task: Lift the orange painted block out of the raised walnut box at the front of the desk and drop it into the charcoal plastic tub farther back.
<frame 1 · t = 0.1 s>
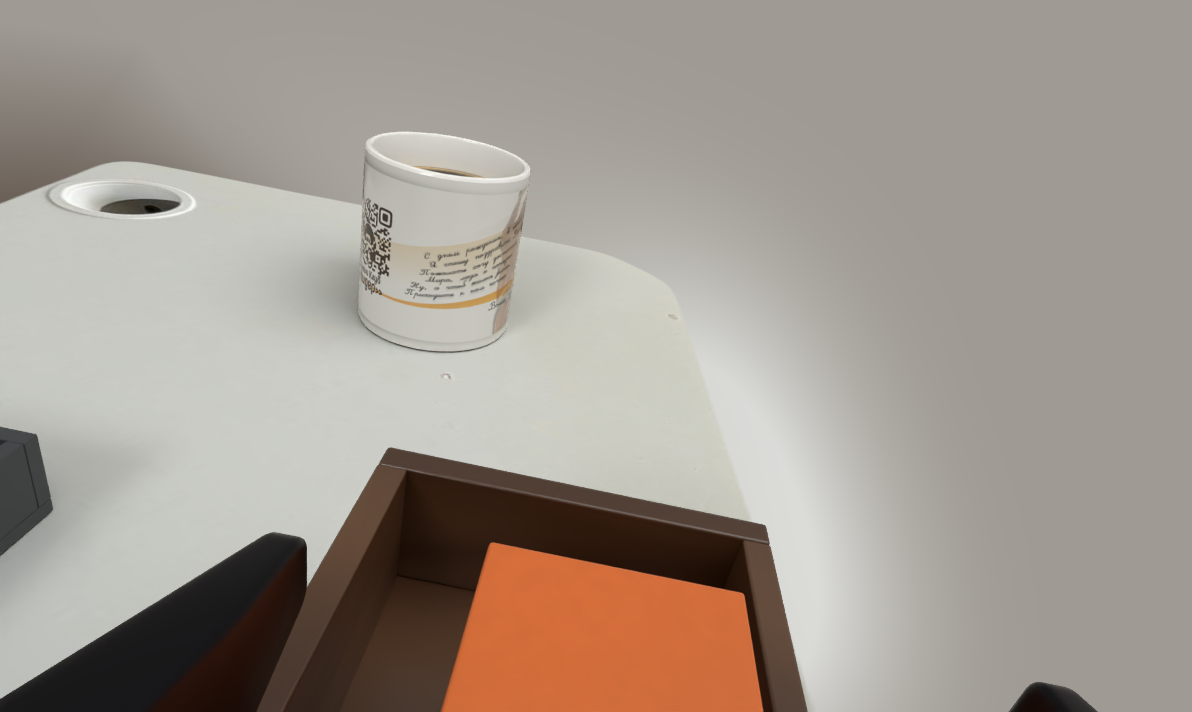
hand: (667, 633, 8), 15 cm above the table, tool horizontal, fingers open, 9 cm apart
mug: (430, 311, 47), on the table
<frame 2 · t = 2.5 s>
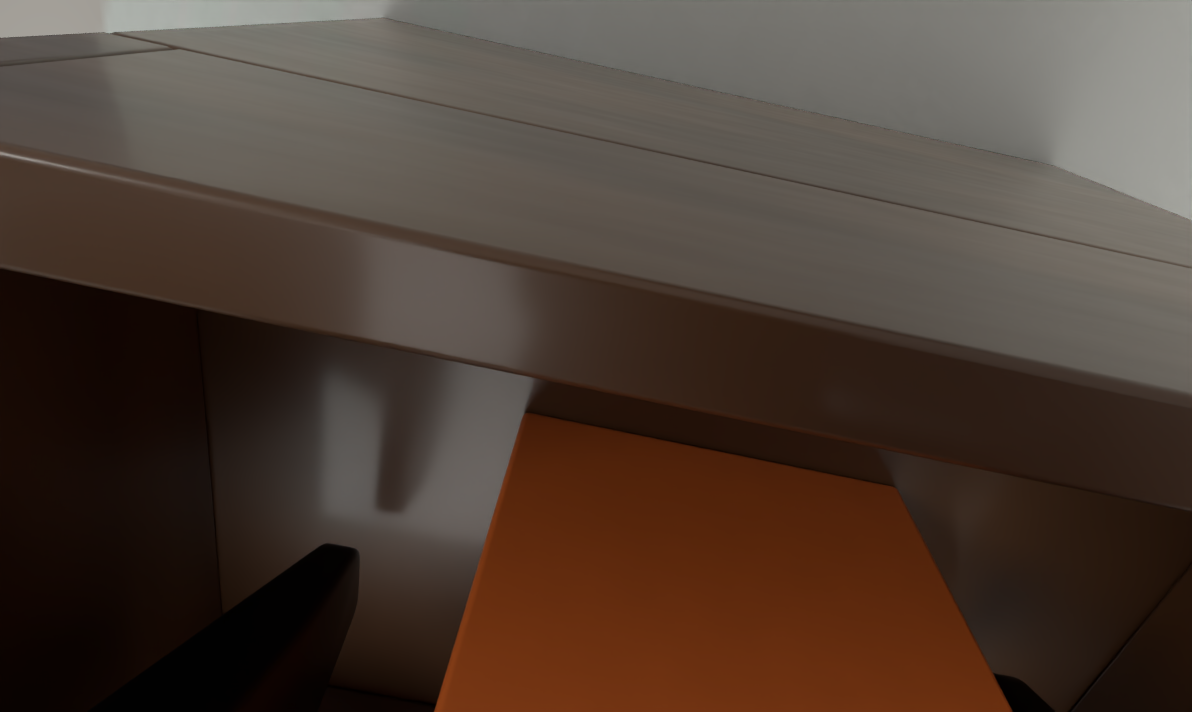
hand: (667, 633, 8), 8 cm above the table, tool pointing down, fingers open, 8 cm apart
block: (666, 584, 9), point 7 cm above the table, touching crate
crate: (665, 310, 15), on the table
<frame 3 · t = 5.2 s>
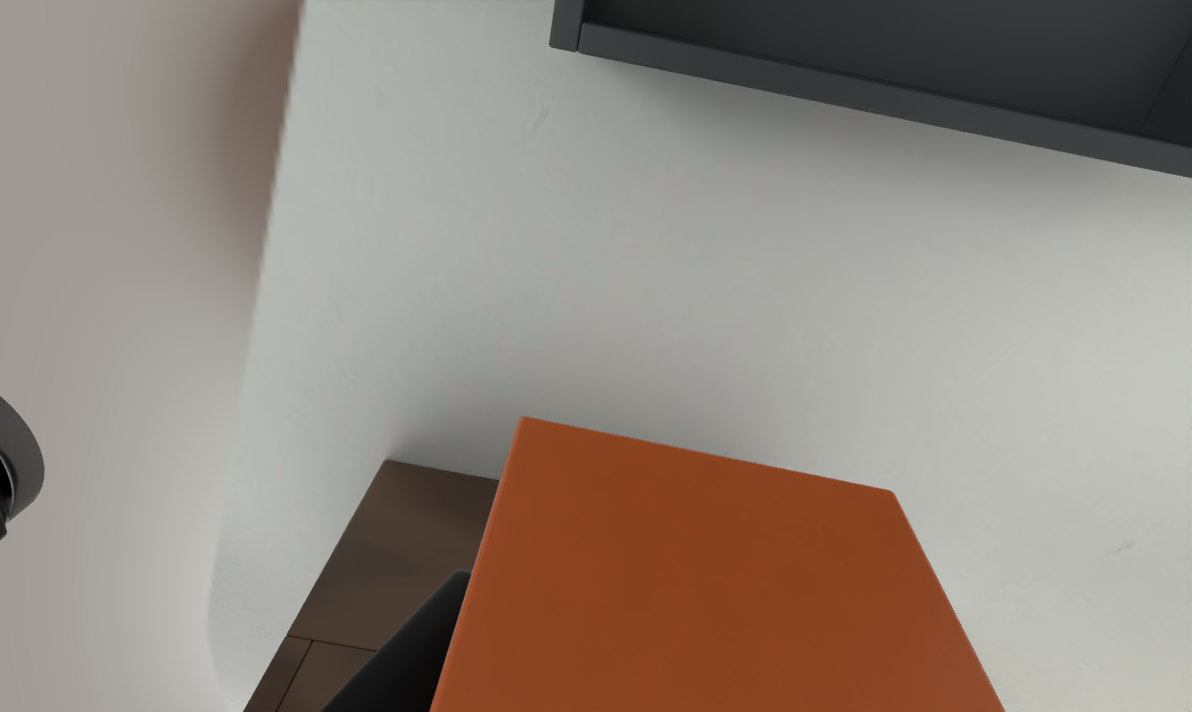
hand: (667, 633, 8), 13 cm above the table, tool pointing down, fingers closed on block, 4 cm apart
block: (663, 588, 9), point 12 cm above the table, touching gripper
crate: (552, 588, 26), on the table
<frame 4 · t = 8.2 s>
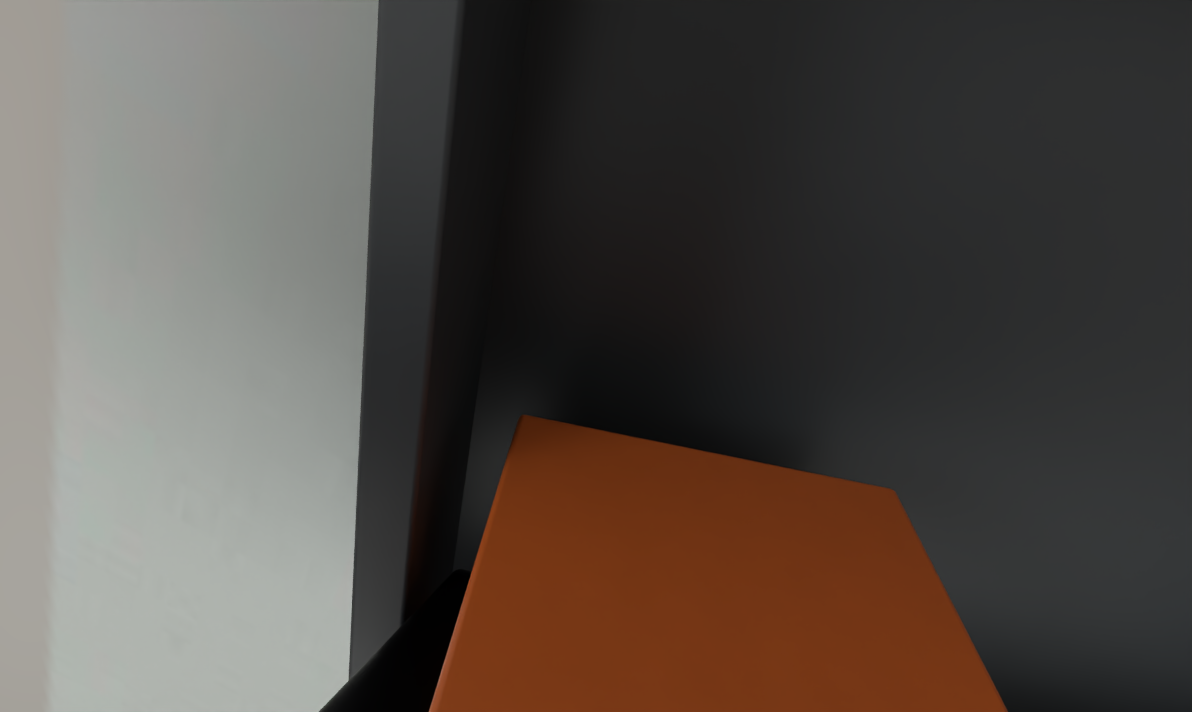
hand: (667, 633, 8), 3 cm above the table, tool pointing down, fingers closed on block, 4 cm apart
tub: (989, 383, 10), on the table
block: (663, 586, 9), point 2 cm above the table, touching gripper
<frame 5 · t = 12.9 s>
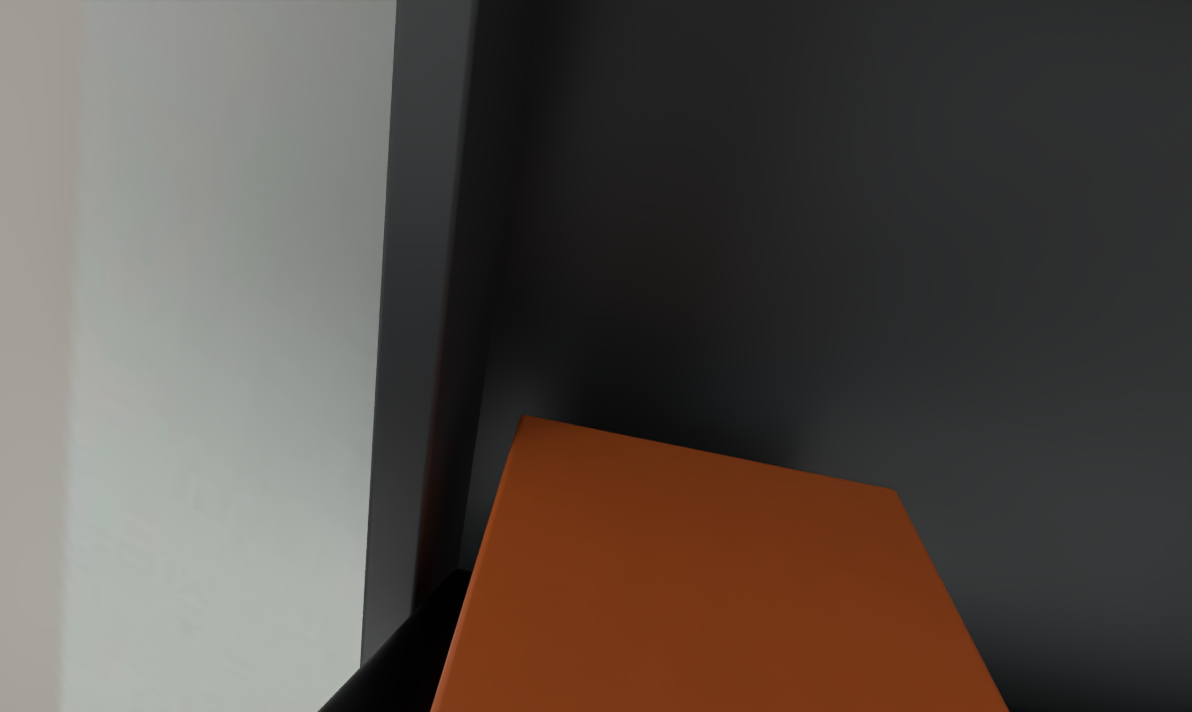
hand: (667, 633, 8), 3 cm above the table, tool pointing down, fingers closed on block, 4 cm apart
tub: (984, 372, 10), on the table
block: (664, 587, 9), point 2 cm above the table, touching gripper
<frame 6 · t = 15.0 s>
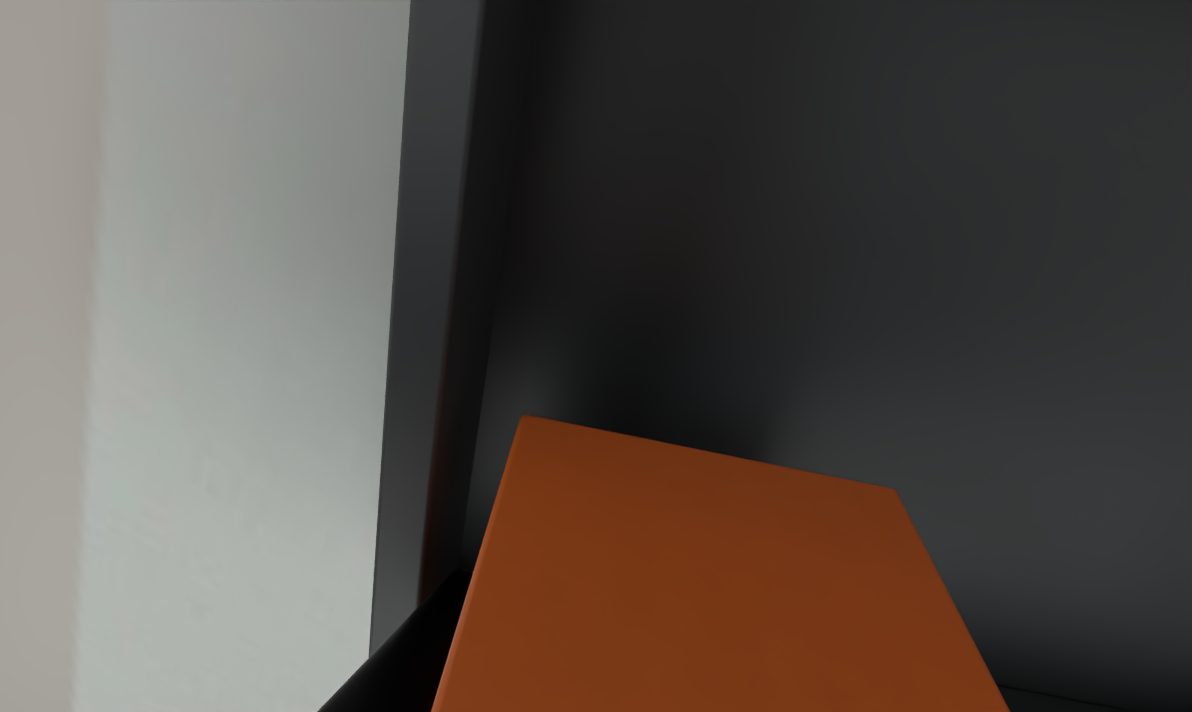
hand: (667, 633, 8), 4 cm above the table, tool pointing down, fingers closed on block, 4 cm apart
tub: (963, 357, 10), on the table
block: (664, 586, 9), point 3 cm above the table, touching gripper
when the fingers open (5 cm above the table, at t = 17.0 s): block drops 3 cm, resting on tub.
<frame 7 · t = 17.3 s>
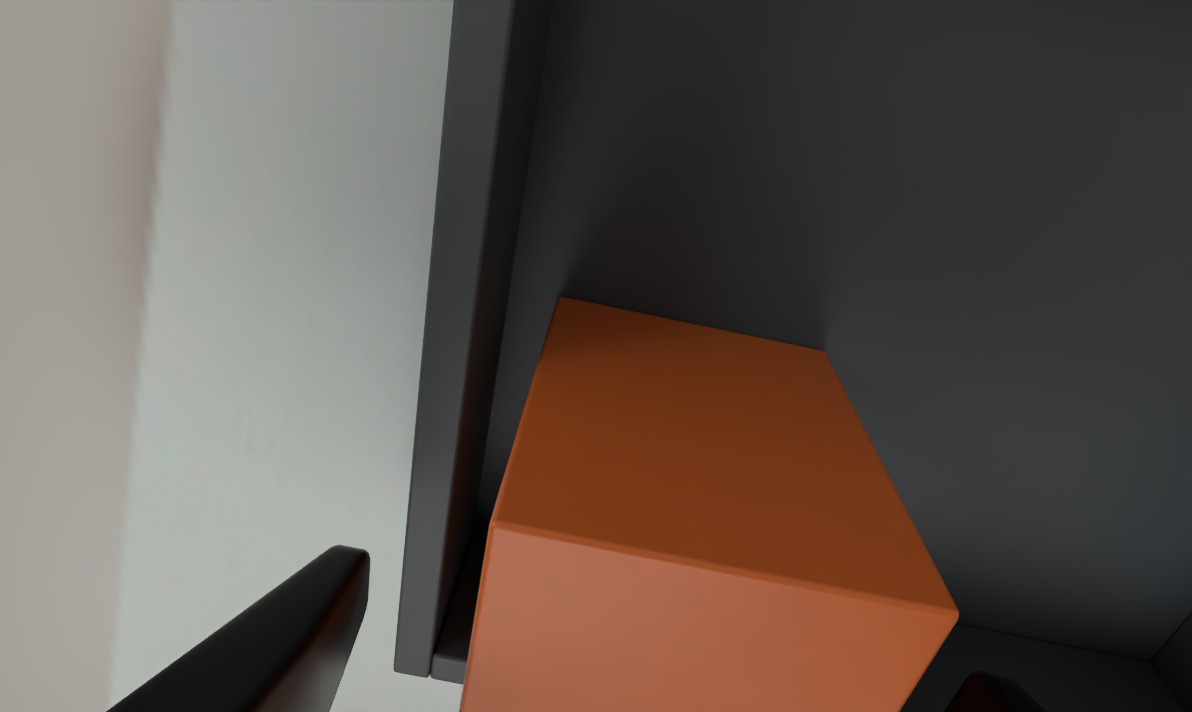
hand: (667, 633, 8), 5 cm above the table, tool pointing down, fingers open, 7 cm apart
tub: (930, 320, 12), on the table
block: (660, 434, 12), point 1 cm above the table, touching tub
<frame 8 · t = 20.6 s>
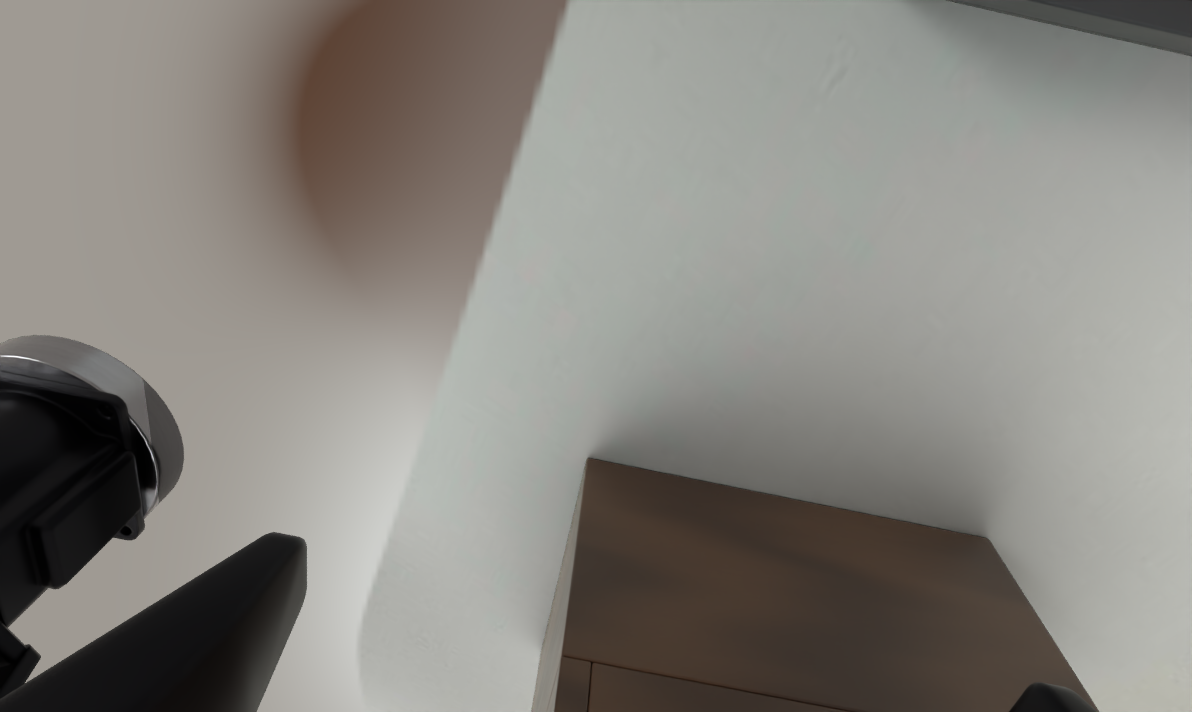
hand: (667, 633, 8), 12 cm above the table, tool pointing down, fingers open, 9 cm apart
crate: (747, 599, 24), on the table
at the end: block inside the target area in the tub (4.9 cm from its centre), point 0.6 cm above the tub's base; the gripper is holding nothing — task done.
